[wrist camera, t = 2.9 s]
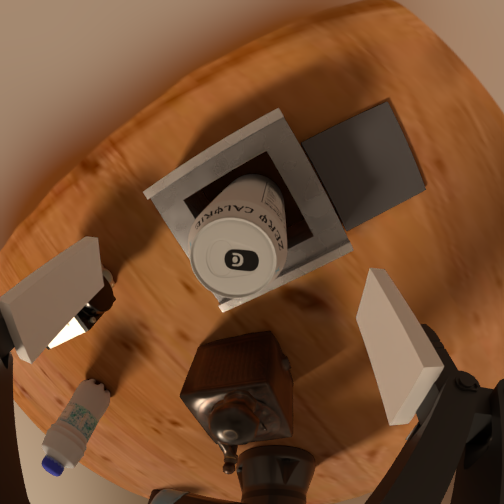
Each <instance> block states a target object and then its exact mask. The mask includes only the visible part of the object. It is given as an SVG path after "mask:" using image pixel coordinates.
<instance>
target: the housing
mask: <svg viewBox="0 0 504 504" xmlns="http://www.w3.org/2000/svg"><path fill="white" fill-rule="evenodd" d="M265 151H267V152H268V154H269V156H270V157H271V159H272V161H273V163H274V164H275V166H276V168H277V169H278V171H279V173H280V175H281V177H282V178H283V180H284V182H285V184H286V185H287V187H288V189H289V191H290V193H291V194H292V196H293V198H294V200H295V202H296V203H297V205H298V207H299V209H300V211H301V213H302V215H303V216H304V218H305V219H304V220H302V221H300V222H298V223H296V224H294V225H292V226H290V227H288V228H287V229H286V232H287V257H286V262H285V264H284V267H283V269H282V271H281V272H280V274H279V275H278V276H277V278H276V279H275V280H273V281H272V282H271V283H270V284H269V285H267V286H266V287H265V288H264V289H263V290H262V291H260V292H258V293H256V294H255V295H252V296H249V297H245V298H227V297H222V296H220V295H217V294H215V293H213V292H212V293H213V294H214V296H215V297H216V299H217V300H218V301H219V305H218V306H219V308H220V309H221V311H222V312H225V311H227V310H230V309H232V308H234V307H236V306H239V305H241V304H243V303H245V302H247V301H250V300H252V299H254V298H256V297H258V296H260V295H263V294H265V293H267V292H269V291H271V290H273V289H275V288H278V287H280V286H282V285H284V284H286V283H288V282H290V281H292V280H294V279H297V278H299V277H301V276H303V275H305V274H307V273H309V272H311V271H313V270H315V269H317V268H319V267H321V266H323V265H325V264H327V263H329V262H331V261H333V260H335V259H337V258H339V257H341V256H343V255H345V254H347V253H349V252H351V251H353V248H352V245H351V243H350V241H349V240H348V238H347V235H346V233H345V231H344V229H343V227H342V225H341V223H340V221H339V219H338V217H337V215H336V213H335V210H334V208H333V206H332V204H331V202H330V200H329V198H328V197H327V195H326V193H325V191H324V189H323V187H322V185H321V183H320V181H319V179H318V177H317V175H316V173H315V172H314V170H313V168H312V166H311V164H310V162H309V160H308V159H307V157H306V155H305V153H304V151H303V150H302V148H301V146H300V144H299V143H298V141H297V139H296V137H295V136H294V134H293V132H292V130H291V129H290V127H289V125H288V123H287V122H286V120H285V118H284V116H283V114H282V113H281V111H280V109H279V108H277V109H275V110H273V111H271V112H270V113H268V114H266V115H264V116H262V117H260V118H259V119H257V120H255V121H253V122H251V123H250V124H248V125H246V126H244V127H243V128H241V129H239V130H237V131H236V132H234V133H232V134H231V135H229V136H227V137H226V138H224V139H222V140H221V141H219V142H217V143H216V144H214V145H212V146H211V147H209V148H208V149H206V150H204V151H203V152H201V153H200V154H198V155H196V156H195V157H193V158H192V159H190V160H189V161H187V162H186V163H184V164H183V165H181V166H180V167H178V168H177V169H175V170H174V171H172V172H171V173H169V174H168V175H166V176H165V177H163V178H162V179H160V180H159V181H158V182H156V183H155V184H153V185H152V186H150V187H149V188H148V189H146V190H145V191H143V193H144V195H145V196H146V198H147V200H148V199H150V198H151V200H152V202H153V203H154V205H155V207H156V208H157V210H158V211H159V213H160V214H161V216H162V218H163V219H164V221H165V222H166V224H167V225H168V227H169V229H170V230H171V232H172V233H173V235H174V236H175V238H176V239H177V241H178V242H179V244H180V245H181V247H182V249H183V250H184V252H185V253H186V255H187V256H188V258H189V259H190V256H189V251H188V236H189V232H190V229H191V226H192V225H193V223H194V221H195V219H196V218H197V217H198V216H199V214H200V213H201V212H202V211H203V210H204V209H205V208H206V207H207V206H208V205H209V204H210V203H209V201H208V199H207V198H206V196H205V194H204V193H203V191H202V190H201V189H202V188H203V187H205V186H207V185H208V184H210V183H212V182H213V181H215V180H217V179H218V178H220V177H222V176H223V175H225V174H227V173H228V172H230V171H232V170H233V169H235V168H237V167H239V166H240V165H242V164H244V163H246V162H247V161H249V160H251V159H253V158H254V157H256V156H258V155H260V154H262V153H263V152H265Z"/></svg>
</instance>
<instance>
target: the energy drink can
mask: <svg viewBox="0 0 504 504" xmlns="http://www.w3.org/2000/svg"><path fill="white" fill-rule="evenodd" d="M188 251H189V256H190V262H191V266H192V269H193V272H194V274H195V276H196V277H197V279H198V280H199V281H200V283H201V284H202V285H203V286H204V287H206V288H207V289H208V290H210V291H211V292H213V293H215V294H217V295H220V296H222V297H227V298H245V297H249V296H252V295H255V294H256V293H258V292H260V291H262V290H263V289H264V288H265V287H266V286H267V285H269V284H270V283H271V282H272V281H273V280H275V279H276V278H277V276H278V275H279V274H280V272H281V271H282V269H283V267H284V264H285V262H286V257H287V232H286V220H285V207H284V199H283V195H282V192H281V190H280V189H279V187H278V186H277V184H276V183H274V182H273V181H272V180H271V179H269V178H268V177H265V176H263V175H259V174H247V175H243V176H241V177H238V178H237V179H235V180H234V181H233V182H232V183H231V184H229V185H228V186H227V187H226V188H225V189H224V190H223V191H222V192H221V193H220V194H219V195H218V196H217V197H216V198H215V199H214V200H213V201H212V202H211V203H210V204H209V205H208V206H207V207H206V208H205V209H204V210H203V211H202V212H201V213H200V214H199V216H198V217H197V218H196V219H195V221H194V223H193V225H192V226H191V229H190V232H189V236H188Z"/></svg>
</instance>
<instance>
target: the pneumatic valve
mask: <svg viewBox="0 0 504 504" xmlns="http://www.w3.org/2000/svg"><path fill="white" fill-rule="evenodd" d="M101 268H102V275H103V282H104V287H103V288H102V289H101V290H100V291H99V292H98V293H97V294H96V295H95V296H94V297H93V298H92V299H91V300H90V301H89V302H88V303H87V304H86V305H85V306H84V307H83V308H82V309H81V310H80V311H79V312H78V313H77V314H76V315H75V316H74V317H73V319H72V320H71V321H70V322H69V323H68V324H67V325H66V326H65V327H64V328H63V329H62V330H61V331H60V333H59V334H58V335H57V336H56V337H55V338H54V339H53V340H52V341H51V343H50V344H49V345H48V346H47V347H46V348H47V349H48V350H49V349H51V348H53V347H55V346H58V345H60V344H62V343H64V342H66V341H68V340H70V339H72V338H74V337H76V336H78V335H80V334H82V333H84V332H86V331H88V330H90V329H91V328H92V326H93V325H94V324H95V323H96V322H97V321H98V319H99V318H100V317H101V316H102V315H103V314H104V312H106V311H108V310H109V309H110V308H111V307H112V305H113V302H114V301H115V300H116V298H115V297H114V295H113V291H112V288H113V287H114V284H115V282H114V281H113V277H112V274H111V272H110V271H109V270H108V269H105V268H104V266H103V264H101Z"/></svg>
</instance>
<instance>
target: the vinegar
mask: <svg viewBox="0 0 504 504" xmlns="http://www.w3.org/2000/svg"><path fill="white" fill-rule="evenodd" d="M159 492H160V491H159V490H153V491H152V492H151V495H150V499H149V502H148V504H150V503H151V502H152V500H153V498H154V497H155V496H156V495H157V494H158V493H159Z"/></svg>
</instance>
